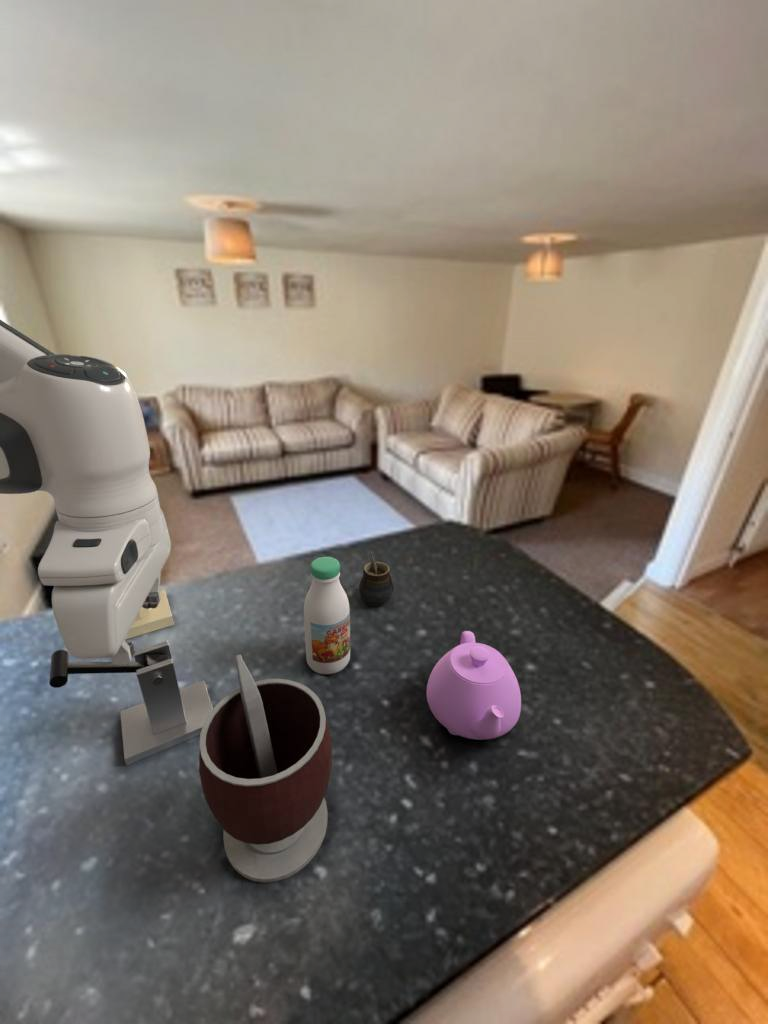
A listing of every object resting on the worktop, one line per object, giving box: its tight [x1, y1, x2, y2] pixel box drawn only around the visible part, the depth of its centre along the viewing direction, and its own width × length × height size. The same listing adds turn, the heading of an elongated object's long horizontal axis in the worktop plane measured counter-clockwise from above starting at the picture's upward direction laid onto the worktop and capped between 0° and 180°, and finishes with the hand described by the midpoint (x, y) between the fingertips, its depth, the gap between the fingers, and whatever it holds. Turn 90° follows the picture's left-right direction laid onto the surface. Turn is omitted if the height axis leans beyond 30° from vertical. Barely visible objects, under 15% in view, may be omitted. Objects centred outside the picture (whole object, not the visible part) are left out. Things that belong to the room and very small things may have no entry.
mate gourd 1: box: [198, 654, 333, 883], centre depth 51 cm, size 16×14×20 cm
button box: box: [126, 589, 175, 640], centre depth 86 cm, size 12×10×4 cm
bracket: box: [119, 640, 214, 766], centre depth 64 cm, size 12×9×13 cm
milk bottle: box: [303, 556, 351, 675], centre depth 75 cm, size 8×8×20 cm
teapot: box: [426, 630, 522, 741], centre depth 66 cm, size 20×14×12 cm
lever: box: [48, 649, 168, 689], centre depth 59 cm, size 13×5×2 cm, turn 121°
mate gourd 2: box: [358, 550, 395, 607], centre depth 93 cm, size 7×8×10 cm
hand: (139, 630), depth 52 cm, fingers open, 8 cm apart
